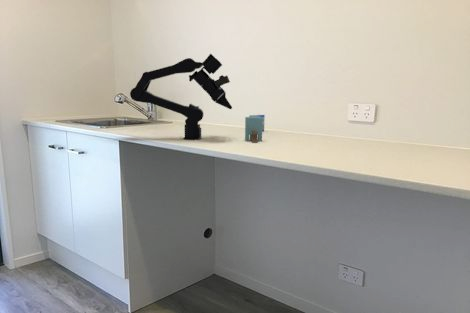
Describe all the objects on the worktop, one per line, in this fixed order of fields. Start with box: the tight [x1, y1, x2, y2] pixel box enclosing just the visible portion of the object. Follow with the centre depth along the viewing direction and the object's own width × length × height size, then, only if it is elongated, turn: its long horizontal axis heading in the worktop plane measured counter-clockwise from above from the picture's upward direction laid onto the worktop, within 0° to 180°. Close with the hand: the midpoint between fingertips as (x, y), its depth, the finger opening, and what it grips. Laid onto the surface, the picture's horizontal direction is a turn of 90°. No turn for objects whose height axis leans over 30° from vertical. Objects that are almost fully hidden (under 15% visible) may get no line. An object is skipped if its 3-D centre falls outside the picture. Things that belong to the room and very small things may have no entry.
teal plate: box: [244, 116, 263, 142], centre depth 160 cm, size 7×3×10 cm, turn 93°
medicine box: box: [248, 114, 266, 133], centre depth 190 cm, size 8×4×9 cm, turn 143°
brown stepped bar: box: [249, 130, 258, 144], centre depth 160 cm, size 12×2×5 cm, turn 3°
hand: (231, 107), depth 163 cm, fingers open, 9 cm apart
